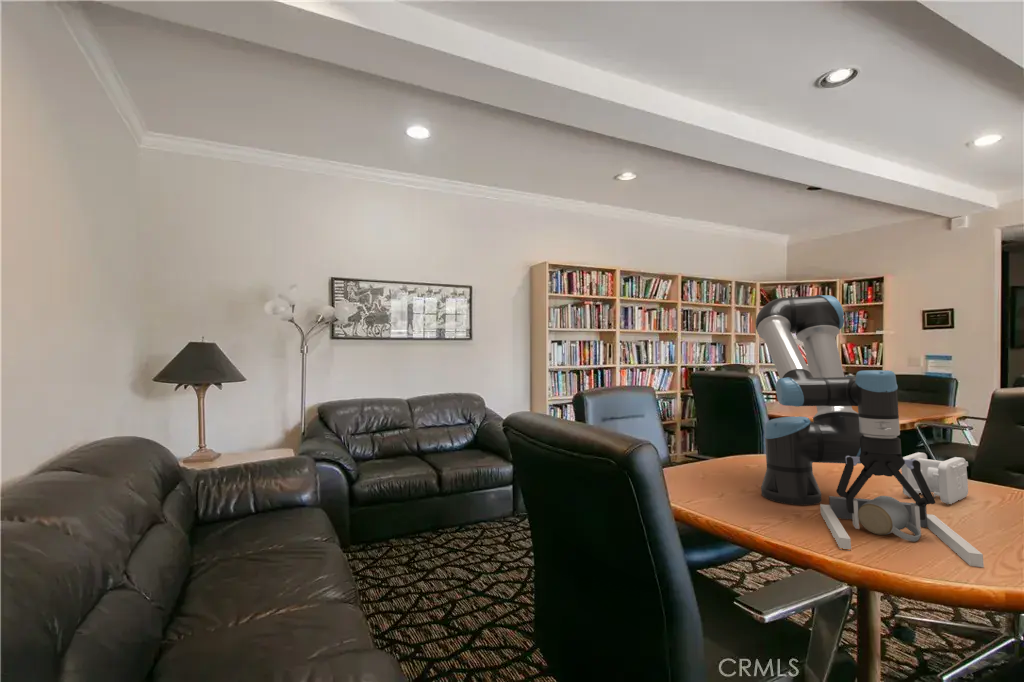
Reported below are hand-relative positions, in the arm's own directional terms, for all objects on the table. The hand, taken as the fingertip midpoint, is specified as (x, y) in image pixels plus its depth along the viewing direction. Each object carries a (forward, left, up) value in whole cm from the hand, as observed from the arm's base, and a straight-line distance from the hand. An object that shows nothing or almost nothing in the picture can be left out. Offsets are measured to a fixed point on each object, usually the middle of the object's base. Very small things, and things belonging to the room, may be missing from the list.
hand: (885, 529), depth 106 cm
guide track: (0, -3, 0) cm, 3 cm away
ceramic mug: (+1, -1, -1) cm, 1 cm away
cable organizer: (+20, +35, -1) cm, 40 cm away
